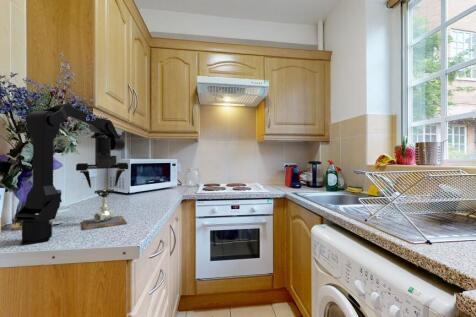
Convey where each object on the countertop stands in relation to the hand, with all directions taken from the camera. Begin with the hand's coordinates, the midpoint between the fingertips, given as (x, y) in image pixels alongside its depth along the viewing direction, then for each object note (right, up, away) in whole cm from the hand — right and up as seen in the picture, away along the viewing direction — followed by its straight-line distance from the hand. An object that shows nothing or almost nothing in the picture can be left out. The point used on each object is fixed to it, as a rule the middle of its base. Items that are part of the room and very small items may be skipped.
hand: (103, 187), depth 100 cm
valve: (+4, -13, -7) cm, 15 cm away
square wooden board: (+4, -13, -7) cm, 15 cm away
